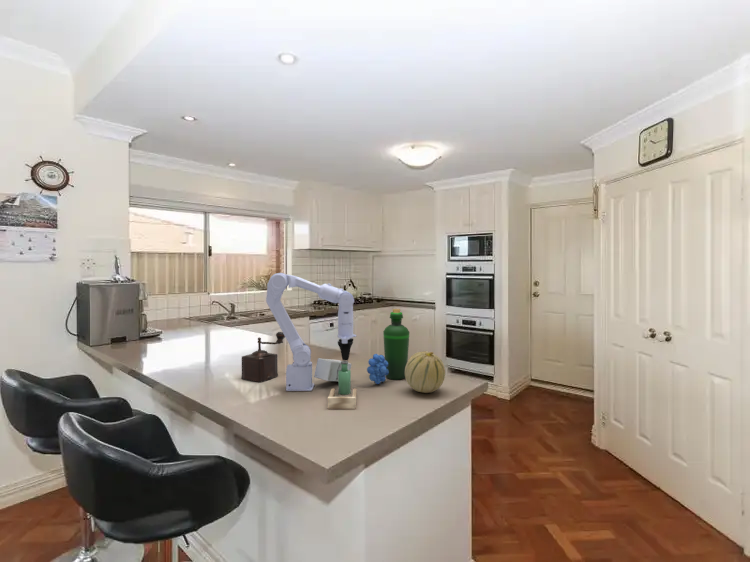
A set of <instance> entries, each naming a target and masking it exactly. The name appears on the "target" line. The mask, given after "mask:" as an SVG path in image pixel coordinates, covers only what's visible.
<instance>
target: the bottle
mask: <svg viewBox="0 0 750 562" xmlns="http://www.w3.org/2000/svg"><path fill="white" fill-rule="evenodd" d="M403 315H404V314H403V312H402V311H401V308H392V312H390V313H389V319H390V320H391V322H390V323H391V324H389V325H387V326H386V327H385V328H384V330H383V350H384V352H383V353H384V354H383V355H384V357H385V360H386V361H387V362H388V367H386V368H387V369H388V371H389V373H388V375H385V377H386V379H389V380H393V381H398V380H404V379H406V378H405V367H406V364H407V362H408V360H409V347H410V331H409V329H408V328H407V327H406V326H405V325H403V324H402V322H403V321H402V320H403V319H404V316H403Z"/></svg>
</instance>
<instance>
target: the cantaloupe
mask: <svg viewBox="0 0 750 562" xmlns="http://www.w3.org/2000/svg"><path fill="white" fill-rule="evenodd" d="M445 378H446V368H445V364H444V362H443V361H442V359H441V357H439V356H438V355H437V354H435V353H434V351H427V350H425V351H424V350H423V351H418V352H415V353H414V354H412V355H411V356H410V357H409V358H408V362H407V364H406V367H405V378H404V379H405V380H406V382H407V384H408V386H409V387H411V388H412V389H413V390H414V391H416V392H418V393H422V394H428V393H430V394H431V393H433V392H435V391H437V390H438V389H440V387H442V385H443V383H444V381H445Z"/></svg>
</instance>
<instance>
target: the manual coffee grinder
mask: <svg viewBox="0 0 750 562" xmlns="http://www.w3.org/2000/svg"><path fill="white" fill-rule="evenodd" d="M275 336H276V341H274V342H273V341H271V342H270V341H262V338H261V337H257V343H258V348H257V350H256V351H255V350H254V351H253V352H252V353H250V354H247V355H242V356H241V380H243V381H248V382H256V383H260V384H261V383H264V382H267V381H271V380H272V379H275V378H276V377H278V376H279V374H278V373H279V372H278V368H279V367H278V354H277V353H271V352H268V351H267V350H264V349H263V350H262V345H277V344H278V345H281V344H283V343H284V339H286V337H285V336H284V334H283V332H282V331H278V332H276V334H275ZM261 344H262V345H261Z"/></svg>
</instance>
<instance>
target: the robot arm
mask: <svg viewBox="0 0 750 562" xmlns="http://www.w3.org/2000/svg"><path fill="white" fill-rule="evenodd" d="M266 286H267V289H266V297H265V301H266V304H267V306H268V307H269V310H270V311H271V313H272V316H273V317H274V319H275V321H276V322H277V324H278V326H279V328H280V331H281V332H283V334H284V336H285V339H286V341H287V343H288V344H289V348H290V351H291V353H292V355H293V356H292V359H293V361H292V364H291V363H290V364H287V366H286V371H285V384H286V385H285V391H286V392H288V391H289V392H292V391H293V392H295V391H296V392H299V391H300V392H302V391H304V392H305V391H307V392H309V391H310V392H311V391H313V389H314V386H315V383H314V382H313V362H312V361H311V359H312V356H311V354H312V350H311V347H310V346H309V345H307V343H305V341H304V340H303V338H302V337H301V336H300V334H299V332H298V330H297V328H296V326H295V325H294V323H293V321H292V319H291V317H290V316H289V314H288V311H287V309H286V308H285V306H284V304H283V303H282V301H281V300H282V296H283V294H284V292H285V290H286V289H287V287H288V288H289V289H291V288H297V287H298V288H299V289H303V290H306V291H309V292H313V293H316V294H317V295H318V297H319V299H322V300H324V301H328V302H330V303H332V304H338V312H337V338H338V340H337V345H338V347H339V350H340V354H341V358H342V359H341V361H349V358H350V354H351V348H352V345H353V343H354V338H356V337H357V334H354V303H355V297H354V296H353V294H352V293H351V292H349V291H347V290H344V288H342V287H341V288H339V287H336V286H333V285H332V284H331V283H330V282H328V283H323V284H317V283H314V282H313V281H309V280H307V279H305V278H302V277H299V276H297V275H292V274H288V273H287V274H286V273H283V272H278V273H274V274H272V275H271V276H270V278H269V280H268V282H267V285H266Z"/></svg>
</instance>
